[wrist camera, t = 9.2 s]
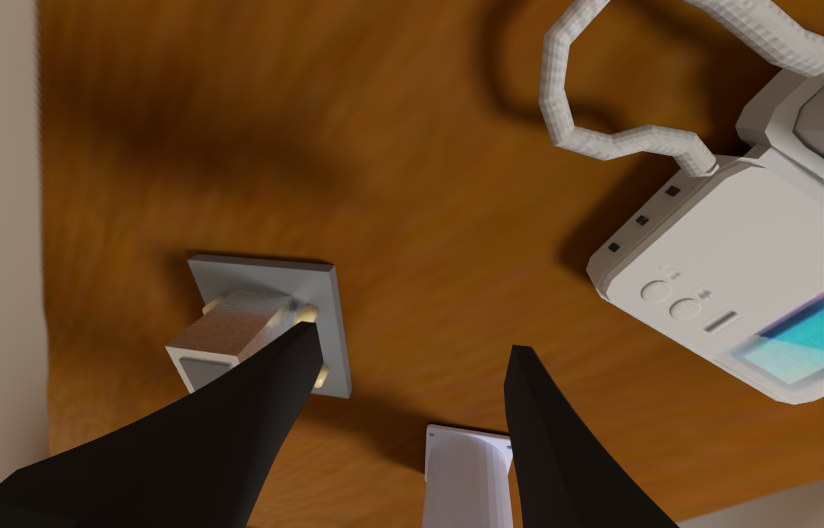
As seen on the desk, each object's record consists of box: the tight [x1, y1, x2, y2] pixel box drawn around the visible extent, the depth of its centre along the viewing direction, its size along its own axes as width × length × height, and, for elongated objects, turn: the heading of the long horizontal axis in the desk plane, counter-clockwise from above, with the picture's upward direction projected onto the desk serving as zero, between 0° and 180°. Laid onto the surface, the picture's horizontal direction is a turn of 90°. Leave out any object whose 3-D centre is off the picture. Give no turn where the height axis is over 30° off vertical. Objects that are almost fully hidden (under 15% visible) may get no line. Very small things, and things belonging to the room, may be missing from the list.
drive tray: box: [187, 254, 352, 399], centre depth 24 cm, size 13×11×2 cm
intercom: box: [538, 0, 824, 405], centre depth 14 cm, size 13×4×25 cm
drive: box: [165, 290, 297, 394], centre depth 21 cm, size 8×5×6 cm, turn 0°
